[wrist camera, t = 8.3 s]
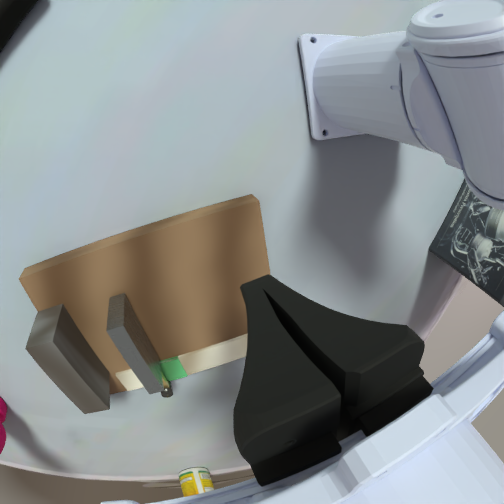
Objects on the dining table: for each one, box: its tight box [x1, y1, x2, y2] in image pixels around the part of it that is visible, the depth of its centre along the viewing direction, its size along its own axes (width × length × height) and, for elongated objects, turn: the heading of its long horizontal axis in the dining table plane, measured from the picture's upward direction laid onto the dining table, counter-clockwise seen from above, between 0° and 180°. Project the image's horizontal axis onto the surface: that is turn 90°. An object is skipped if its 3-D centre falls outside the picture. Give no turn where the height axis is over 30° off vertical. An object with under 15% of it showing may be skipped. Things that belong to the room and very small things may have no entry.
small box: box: [429, 180, 504, 307], centre depth 26 cm, size 13×7×12 cm, turn 152°
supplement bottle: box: [179, 467, 214, 497], centre depth 36 cm, size 5×5×10 cm
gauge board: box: [19, 194, 270, 414], centre depth 20 cm, size 18×14×6 cm
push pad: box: [106, 293, 173, 397], centre depth 20 cm, size 1×10×4 cm, turn 10°
